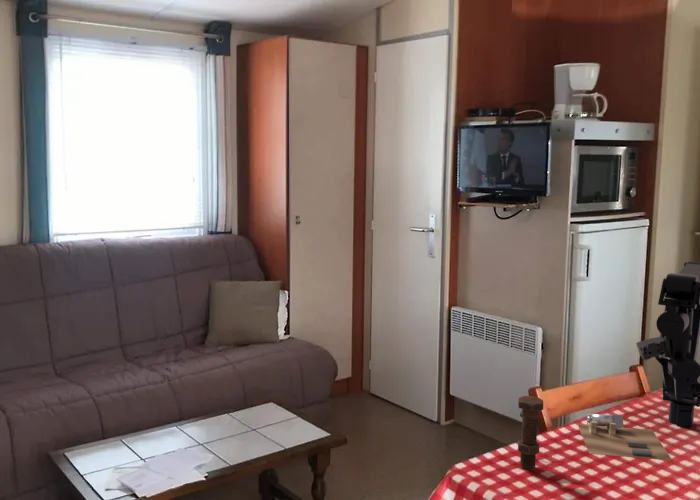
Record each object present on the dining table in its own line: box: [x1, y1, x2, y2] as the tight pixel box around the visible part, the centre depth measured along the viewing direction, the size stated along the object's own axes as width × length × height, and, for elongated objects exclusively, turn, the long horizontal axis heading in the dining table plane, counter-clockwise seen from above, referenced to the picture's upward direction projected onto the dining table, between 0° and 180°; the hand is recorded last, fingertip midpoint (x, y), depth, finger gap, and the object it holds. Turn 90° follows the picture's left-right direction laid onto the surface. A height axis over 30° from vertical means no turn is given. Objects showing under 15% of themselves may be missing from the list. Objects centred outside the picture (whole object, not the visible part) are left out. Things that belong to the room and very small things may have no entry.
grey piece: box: [586, 413, 624, 428], centre depth 171 cm, size 8×3×3 cm, turn 80°
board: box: [577, 423, 673, 461], centre depth 164 cm, size 18×18×1 cm
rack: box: [586, 413, 616, 436], centre depth 170 cm, size 6×6×3 cm
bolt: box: [517, 395, 544, 470], centre depth 150 cm, size 6×5×15 cm
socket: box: [627, 441, 652, 456], centre depth 159 cm, size 6×4×1 cm
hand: (673, 394), depth 164 cm, fingers open, 9 cm apart
